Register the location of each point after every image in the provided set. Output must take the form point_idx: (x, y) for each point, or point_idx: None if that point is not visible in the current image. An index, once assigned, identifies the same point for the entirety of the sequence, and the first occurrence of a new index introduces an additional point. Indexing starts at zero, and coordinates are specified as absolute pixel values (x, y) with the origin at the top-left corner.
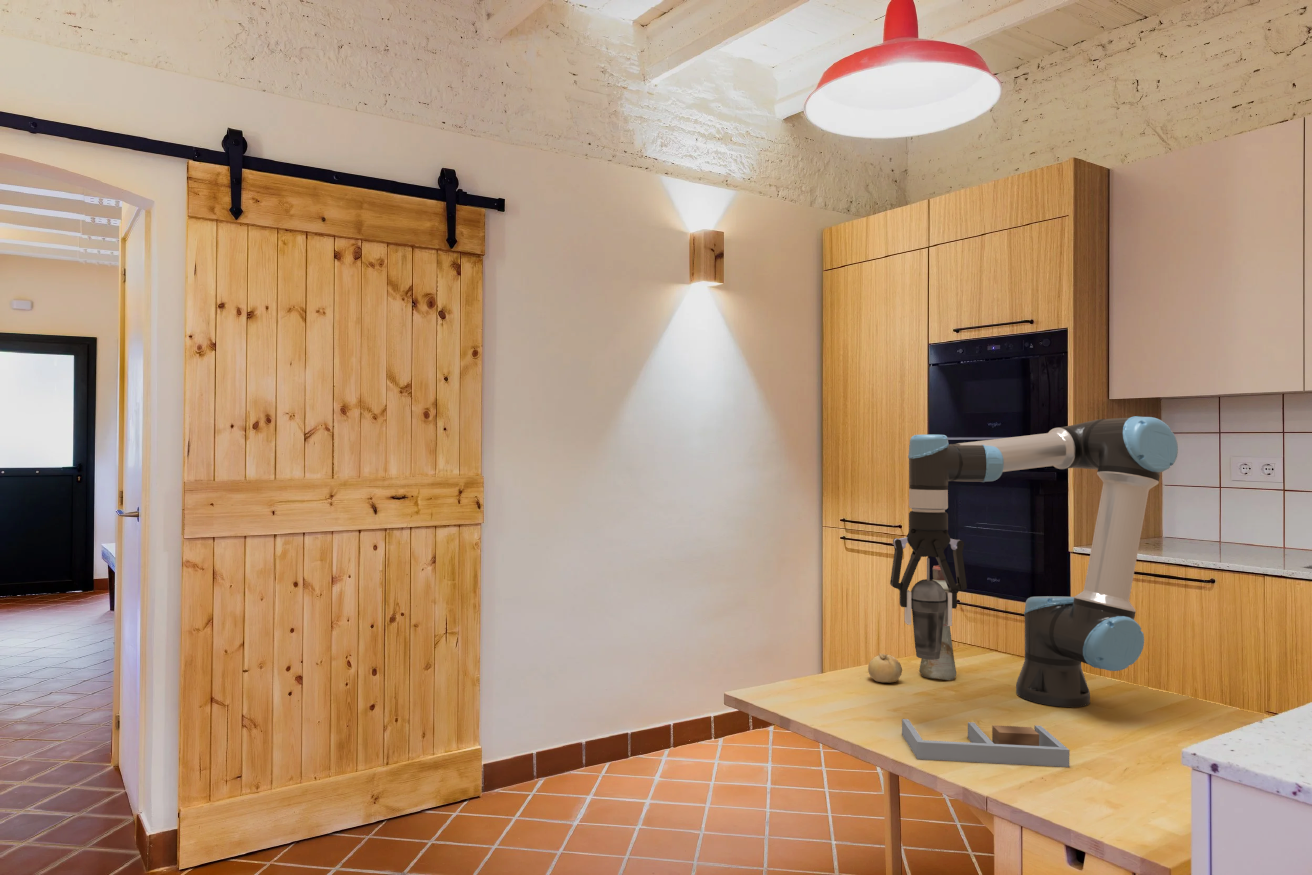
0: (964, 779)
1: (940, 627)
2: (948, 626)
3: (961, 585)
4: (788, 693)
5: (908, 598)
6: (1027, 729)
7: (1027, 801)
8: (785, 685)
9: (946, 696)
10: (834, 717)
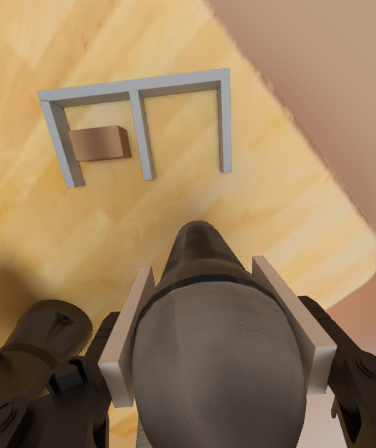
0: (179, 6)
1: (173, 252)
2: (139, 428)
3: (10, 430)
4: (326, 281)
5: (308, 316)
6: (81, 149)
7: None
8: (322, 306)
9: None
10: (293, 213)
